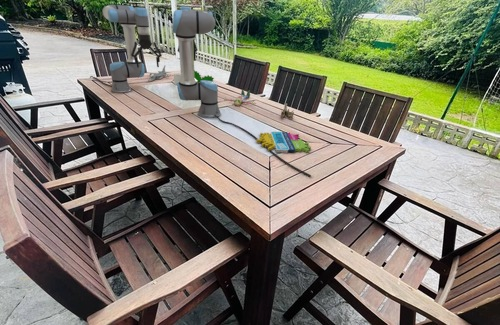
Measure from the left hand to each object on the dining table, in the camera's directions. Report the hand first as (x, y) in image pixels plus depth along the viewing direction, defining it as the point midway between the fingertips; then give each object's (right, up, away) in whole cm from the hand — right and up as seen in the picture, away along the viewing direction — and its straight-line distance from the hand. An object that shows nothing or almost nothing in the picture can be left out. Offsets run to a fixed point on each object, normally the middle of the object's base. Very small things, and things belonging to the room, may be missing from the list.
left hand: (148, 67), depth 186 cm
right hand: (+25, +11, +18) cm, 33 cm away
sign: (+92, -57, -34) cm, 113 cm away
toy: (+66, -17, +34) cm, 76 cm away
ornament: (+28, +3, +65) cm, 70 cm away
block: (+2, +10, +73) cm, 74 cm away
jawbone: (+99, -34, +7) cm, 105 cm away
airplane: (-24, +21, +90) cm, 96 cm away
